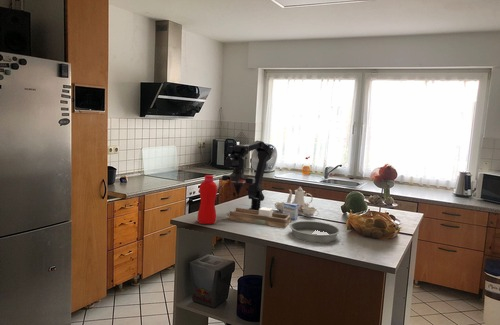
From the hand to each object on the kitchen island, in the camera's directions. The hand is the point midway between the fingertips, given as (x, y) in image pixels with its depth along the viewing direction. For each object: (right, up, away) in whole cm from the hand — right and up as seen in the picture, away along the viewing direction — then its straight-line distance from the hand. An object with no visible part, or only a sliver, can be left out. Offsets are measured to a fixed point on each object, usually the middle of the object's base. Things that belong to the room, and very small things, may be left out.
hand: (237, 193), depth 223 cm
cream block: (+15, -12, -11) cm, 22 cm away
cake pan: (+39, -19, -31) cm, 53 cm away
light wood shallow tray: (+13, -14, -9) cm, 21 cm away
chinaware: (+36, -13, +14) cm, 40 cm away
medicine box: (+30, -14, 0) cm, 33 cm away
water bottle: (-16, -13, -19) cm, 28 cm away
